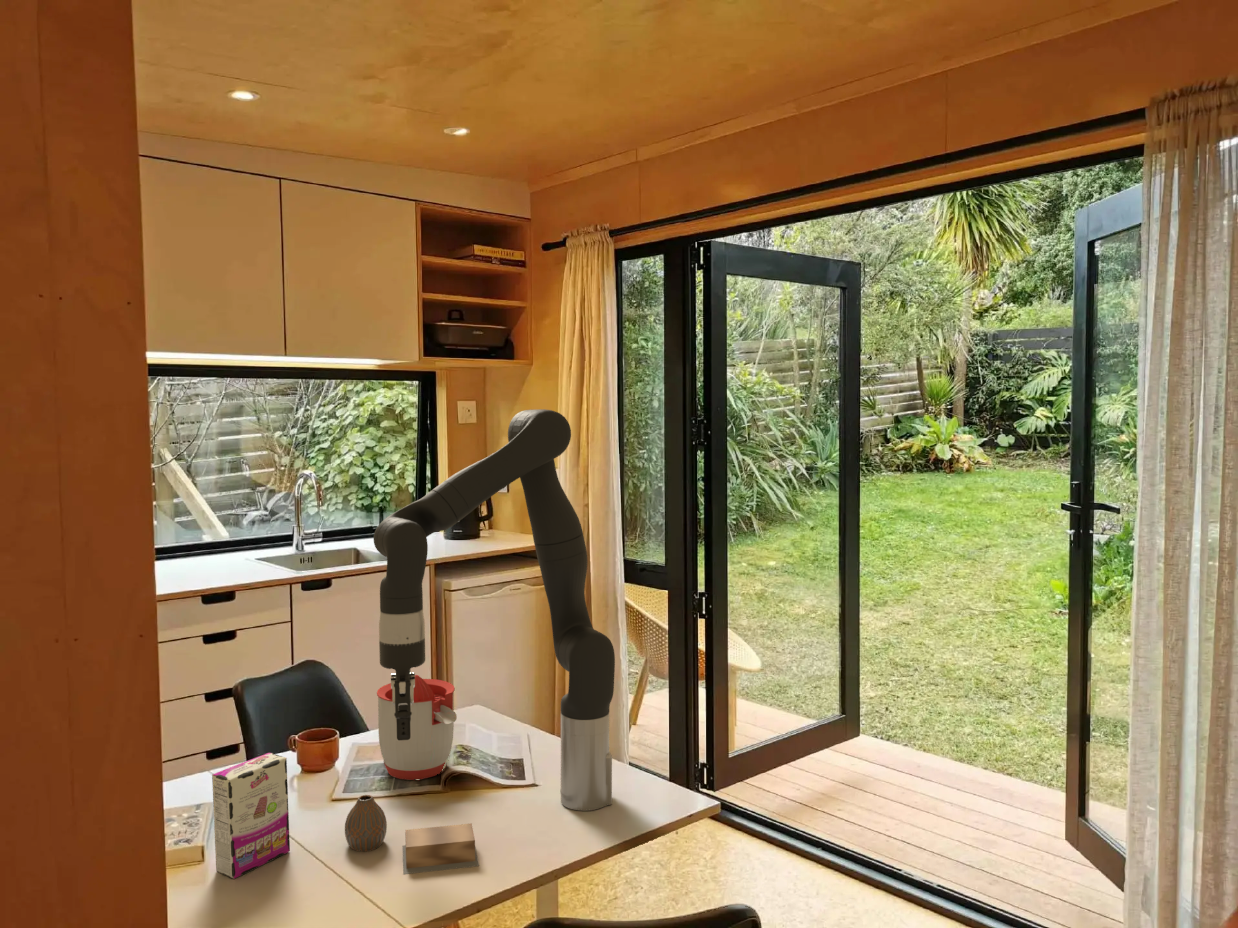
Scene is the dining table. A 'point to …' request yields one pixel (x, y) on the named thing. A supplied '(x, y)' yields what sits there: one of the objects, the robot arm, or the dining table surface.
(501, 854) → the dining table surface
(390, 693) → the citrus juicer
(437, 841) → the wooden rectangular block
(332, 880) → the dining table surface
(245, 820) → the candy bar box
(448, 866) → the rubber mat
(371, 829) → the vase
